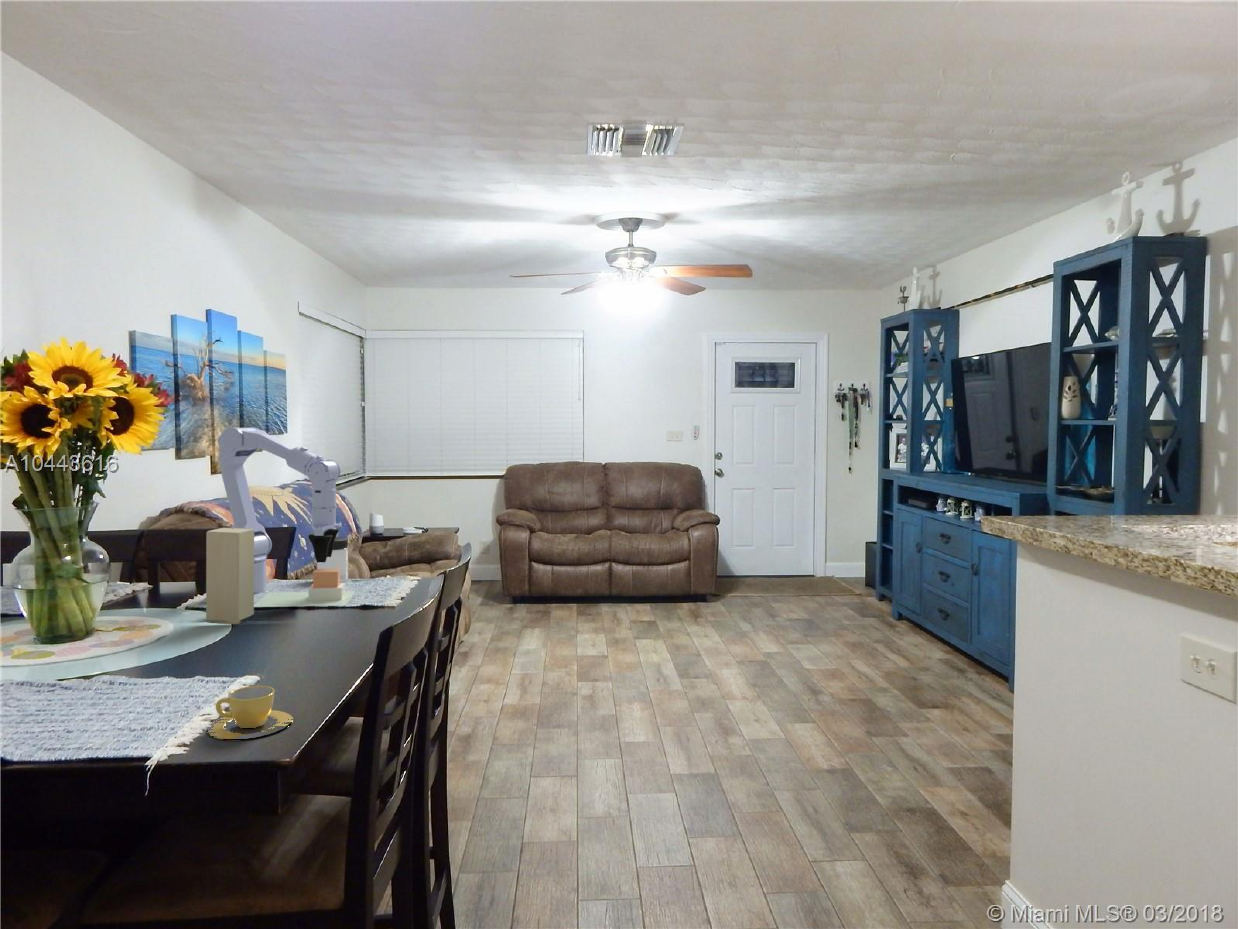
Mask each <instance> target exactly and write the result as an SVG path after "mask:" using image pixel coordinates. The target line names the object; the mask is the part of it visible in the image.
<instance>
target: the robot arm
mask: <svg viewBox="0 0 1238 929" xmlns="http://www.w3.org/2000/svg"><path fill="white" fill-rule="evenodd" d="M217 442H218V444H217V445H218V447H219V453H218V465H219V470H220V472H221V473H220V474H221V477H222V482H223V484H224V485H223V486H224V491H225V493H226V499H227V502H228V506H229V508H230V509H229V510H230V514H231V518H232V520H233V526H234V527H233V528H239V529H254V594H258V593H264V592H265V591H267V573H266V572H267V558H268V554H270V552H271V550H272V547H273V543H272V539H271V538H270V536H269V535H268V534H267V532H266V528H265V527H264V526H263V525H262V524H260V522H258V520H257V516H256V511H255V508H254V504H253V500H252V497H251V492H250V488H249V484H248V479H247V475H246V472H245V469H244V463H245V462H246V461H247V459H249V457H250V456H252V455H253V454H255V453H256V451H259V449H261V450H263V451H265V452H268V453H271V454H272V455H274V456H277V457H279V458H281V459H283V460H285V461H286V465H287V466H288V467H289V468H291V469H293V470H295V471H297V472H298V473H301V474H303V475H305V476H307V478H308V480H309V481H310V484H311V489H312V490H311V492H312V493H311V494H312V495H311V496H312V498H311V500H312V501H311V505H312V506H311V507H312V508H311V514H312V517H311V521H312V523H311V528H312V529H313V531H314V534H313V533H312V534H310V533H309V534H308V536H307V537H308V540H309V542H310V543H311V546H312V548H313V551H314V552H313V553H314V556H315V557H314V558H315V561H316V563H317V562H326V559H327V557H331V555H332V551H333V546H334V541H335V538H336V537H338V536H337V535H338V534H339V531H340V529H339V528H340V527H341V523H337V519H336V518H337V516H336V515H337V510H336V509H337V500H336V499H337V497H336V496H337V480H339V477H340V475H341V469H340V466H339V464H338V463H337V462H336V461H335V460H333V459H324V457H323V456H322V455H316V454H314V453H312V452H310V451H308V450H309V448H308V447H306V446H296V447H294V448H293V447H291V446H289V445H287V444H286V443H284V442H282V441H281V440H279V439H277V438H275V437H273V436H272V435H271V434H268V433H267V432H266V431H265V430H261V429H259V428H258V427H255V426H251V427H233V426H231V427H226V428H225V429H224V430H222V431H221V433H220V435H219V437H218V438H217Z"/></svg>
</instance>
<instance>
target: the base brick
mask: <svg viewBox="0 0 1238 929" xmlns="http://www.w3.org/2000/svg"><path fill="white" fill-rule="evenodd" d="M345 591H346V583H345V582H340V585H339V586H338V587H325V588H313V584H311V585H310V586H309V587H308V592H309V600H342V599H343V597H344V596H345Z"/></svg>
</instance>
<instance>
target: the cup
mask: <svg viewBox="0 0 1238 929" xmlns="http://www.w3.org/2000/svg"><path fill="white" fill-rule="evenodd" d="M227 695H228V696H227V697H226V696H225V697H222V698H220V699H218V700H217V702H216V704H215V710H216V713H217V715H219V716H220V717H221V718H220V719H224V720H221V721H218V723H216V724H214V725H213V726H214V727H213V728H211V729H213V730H210V731H208V732H216V733H214V734H213V733H211V734H210V733H209V734H210V735H209V734H208V735H209V736H211V737H212V736H214V737H213V738H215V739H218V740H223V739H237V737H236V736H243V735H242V734H241V733H242V732H235V733H231V732H229V731H226V730H225V729H226V728H224V726H226V722H231V721H232V720H233V719H234V720H235V722H236V723H235V724H236V725H237V726H238V728H240V729H242V728H254V727H258V726H260V727H262V726H264V724H266V722H267V721H268V719H267V718H268V716H270V717H273V719H277V721H276V722H278V723H276V724H275V725H273V727H270V726H269V727H270V728H268V727H267V728H268V729H271V728H272V729H273V728H275V727H274V726H286V725H288V724H284V722H285V723H286V722H292V723H293V722H294V717H293V716H292V715H291V714H289V713H288V712H285V711H281V710H278V709H277V710H276V709H273V705H274V700H275V699H274V698H275V688H274V687H272V686H267V685H251V686H244V687H241V688H237V689H234V690H232V691H231V692H229V693H228V694H227ZM224 703H225V704H228V705H229V706H228V707H229V711H226V710H224V709H223V707H222V704H224ZM225 719H227V720H225ZM228 719H229V720H228ZM288 719H289V720H288ZM291 719H293V720H291ZM219 722H221V723H219ZM222 722H224V723H222ZM279 722H280V723H279ZM282 723H283V724H282ZM258 728H259V727H258ZM263 730H264V729H262V731H261V730H260V731H261V732H264V731H263ZM208 732H207V733H208ZM265 732H266V731H265ZM215 736H217V737H215ZM244 736H247V735H246V734H245V735H244ZM248 736H249V735H248ZM238 739H239V737H238Z"/></svg>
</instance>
